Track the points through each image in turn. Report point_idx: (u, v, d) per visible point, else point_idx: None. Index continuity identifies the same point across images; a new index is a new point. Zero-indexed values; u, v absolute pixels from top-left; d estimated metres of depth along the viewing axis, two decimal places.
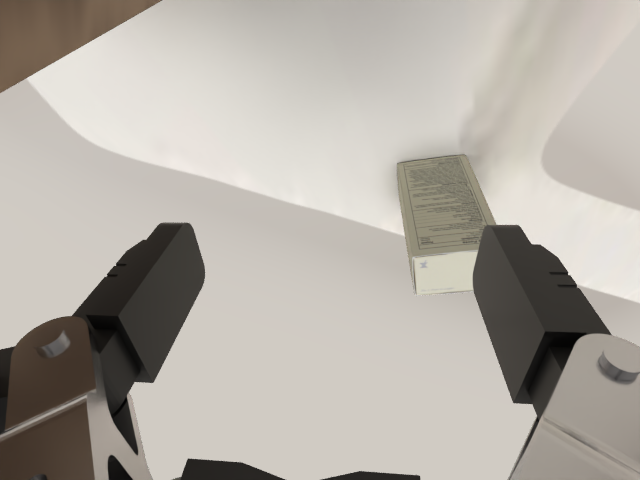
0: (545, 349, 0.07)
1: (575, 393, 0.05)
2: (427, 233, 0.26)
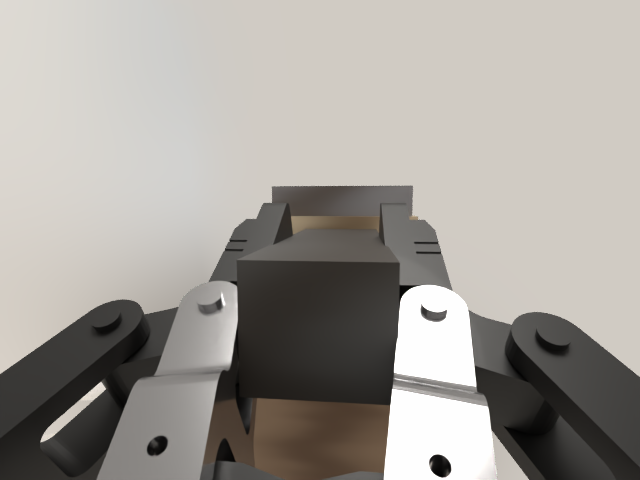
0: None
1: None
2: None
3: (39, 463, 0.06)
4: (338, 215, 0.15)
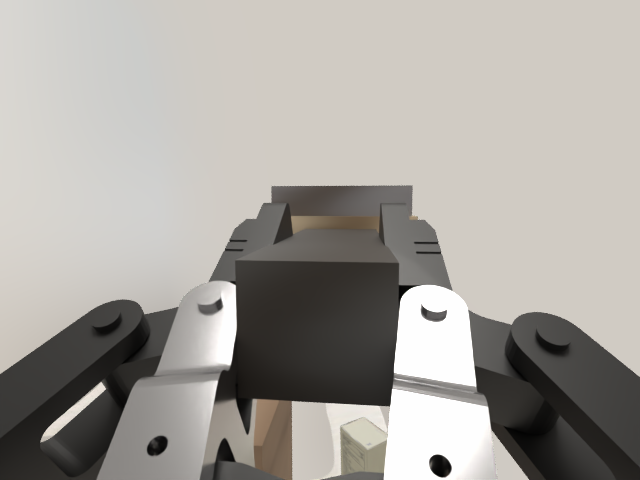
0: None
1: None
2: (360, 460, 0.47)
3: (39, 463, 0.06)
4: (338, 215, 0.15)
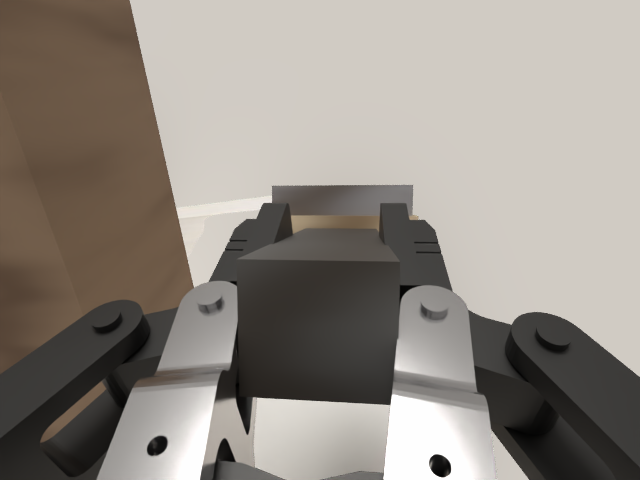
0: None
1: None
2: None
3: (39, 463, 0.06)
4: (338, 214, 0.15)
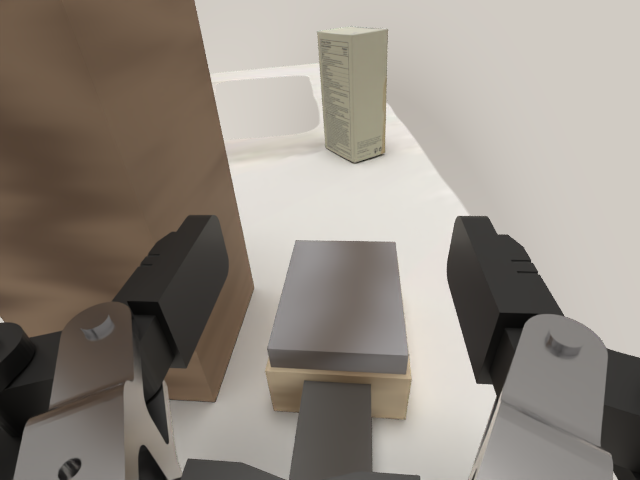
0: (501, 330, 0.07)
1: (519, 366, 0.06)
2: (344, 60, 0.34)
3: None
4: (334, 371, 0.15)
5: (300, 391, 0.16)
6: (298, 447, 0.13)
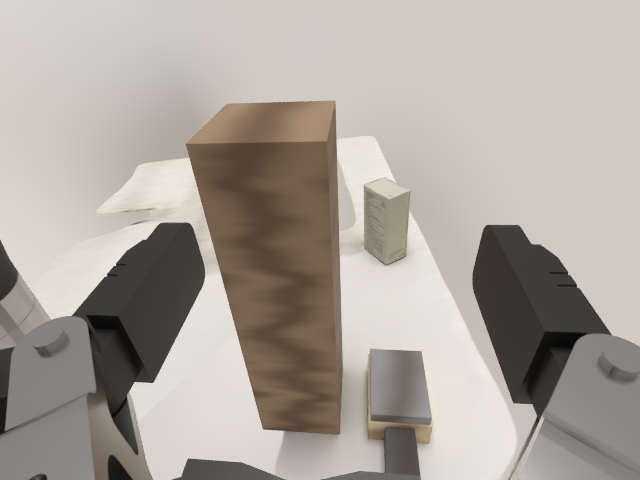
0: (545, 349, 0.07)
1: (575, 393, 0.05)
2: (382, 209, 0.55)
3: None
4: (399, 423, 0.36)
5: (382, 430, 0.36)
6: (388, 456, 0.34)
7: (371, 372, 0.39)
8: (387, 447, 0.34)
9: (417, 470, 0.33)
